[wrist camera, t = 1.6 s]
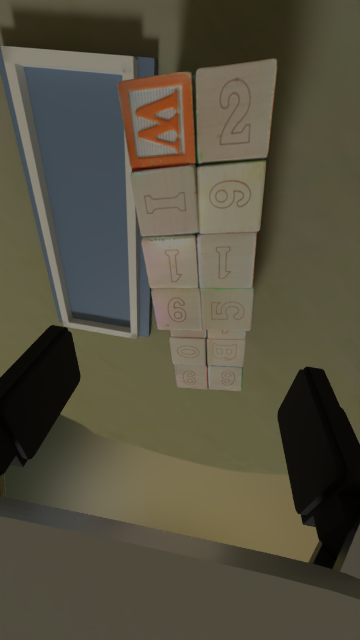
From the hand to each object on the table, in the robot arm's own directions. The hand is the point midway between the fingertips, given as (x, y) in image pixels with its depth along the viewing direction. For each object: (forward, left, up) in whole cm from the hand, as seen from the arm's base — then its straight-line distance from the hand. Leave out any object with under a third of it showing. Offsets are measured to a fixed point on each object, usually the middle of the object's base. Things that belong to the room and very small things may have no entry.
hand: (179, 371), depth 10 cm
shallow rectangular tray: (+12, 0, -18) cm, 21 cm away
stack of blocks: (0, 0, -18) cm, 18 cm away
